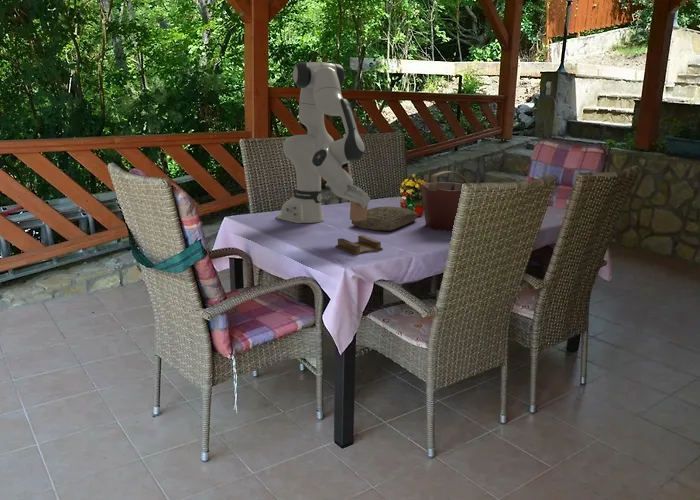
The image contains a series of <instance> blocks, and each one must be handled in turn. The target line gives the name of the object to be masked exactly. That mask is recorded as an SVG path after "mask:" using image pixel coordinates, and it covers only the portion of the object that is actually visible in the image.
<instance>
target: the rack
mask: <svg viewBox="0 0 700 500" xmlns="http://www.w3.org/2000/svg"><path fill="white" fill-rule="evenodd" d="M381 246H382V242H381V241H379V240H376V239H374V238H371V237H368V236H366V235H363V234H359V235H358V236H357V241H356V242H355V241H354V242H352V241H349V240H348V239H345V238H337V244H336V245H335V248H336V249H339V250H341V251H343V252H347V253H348V254H351V255H353V256H354V255H355V256H356V255H361V254H366V253H371V252H377V251H383V247H381Z"/></svg>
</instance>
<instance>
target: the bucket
mask: <svg viewBox="0 0 700 500" xmlns="http://www.w3.org/2000/svg"><path fill="white" fill-rule="evenodd" d="M446 174H453V175H454V176H455V177H458V178H459V179H460V181H461V182H462V183H459V182H449V181H448V182H447V181H438V178H439V177H441V176H443V175H444V176H445V175H446ZM463 183H469V182H468V180H467V178H466V177H465V176H463V175H462V174H460V173H458V172H456V171H450V170H447V171H446V170H445V171H440V172H436V173H433V174H432V175H430V182H427V183H422V184H421V198H422V204H423V205H422V206H423V213H424V220H425V225H426V226H427V227H428V228H429V229H432V230H438V231H443V230H446V231H445V232H452V229H453V225H454V220H455V216H456V213H457V208H458V203H459V198H460V194H461V186H462V184H463Z"/></svg>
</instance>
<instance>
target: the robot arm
mask: <svg viewBox="0 0 700 500" xmlns="http://www.w3.org/2000/svg"><path fill="white" fill-rule="evenodd" d="M345 74H346V73H345V69H344V67H343V65H341V64H339V63H334V62H333V63H329V62H325V61H324V62H323V61H319V62H318V61H315V62H314V61H312V62H311V61H310V62H306V61H302V62H297V63H296V64H295V65H294V68H293V71H292V79H293V83H294V84H295V86H296V87H298V88H300V92H299V93H300V94H299V103H298V105H299V106H298V107H299V108H298V120H299V123H301V124H302V125H304V126H305V127H306V130H307V134H295V135H291V136H289V137H287V138H285V140H284V142H283V145H282V149H283V150H282V151H283V153H284V155H285V157H286V158H287V159H289V160H290V162H291V163H292V165H293V167H294V169H295V175H296V188H295V189H294V190H292V191H291V194H293V197H290V199H288V200H287V201H286V202H284V203H283V205H282V206H281V211H280V213H278V214H277V215H276V216H275V217H276V219H279V220H282V221H286V222H291V223H295V224H304V223H305V224H310V223H311V224H312V223H314V224H315V223H320V222H323V221H324V220H325V219H324V215H323V207H322V200H323V189H322V179H323V180H324V181H325V182H326V183H324V185H325V187H326V188H327V189H329V190H330V191H331V192H332V193H333V194H334V195H336V196H337V197H339V198H341V199H344V200H347V201H349V202H350V203H351V201H353V202H356V203H359V204H360V207H362V208H364V207H365V206H366V205H367V206H368V205H369V202H370V201H371V197H370V196H369V194H368V195H367V194H366V193H367V192H365V191H364V190H363V189H362V188H361V187H358V186H356V185H353V184H354V180H353V178H352V176H351V175H350V174H349V173H348V172H347V171H346V170H345V169H344V168H343V165H345V164H348V163H351V162H352V163H353V162H357V161H360V160H361V159H362V158H363V156H364V154H365V151H366V147H365V143H364V140H363V138H362V136H361V133H360V131H359V127H358V124H357V121H356V117H355V115H354V111H353V108H352V106H351V104H350V102H349V101H348V99H346V98H344V97H343V95H342V90H341V89H342V88H341V87H343V85H344V84H345V77H346V75H345ZM325 115H326V116H332V117H340V118H341V121H342V124H343V125H342V126H343V127H344V130H345V135H344V137H342V138H340V139H337V140H334V138H333V137H332V136H331V135H330V134H329V133H328V131H327V129H326V125H325Z"/></svg>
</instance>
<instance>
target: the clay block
mask: <svg viewBox="0 0 700 500" xmlns="http://www.w3.org/2000/svg"><path fill="white" fill-rule="evenodd" d="M365 193H366V194H367V195H368V196H369V193H368V192H365ZM349 208H350V212H349V220H350V221H352V220H353V221H361V220H367V210H368V204H367V205H366V206H365V207H364V208H362V207H360V204H359V203H356V202H353V201H351V202H350V206H349Z"/></svg>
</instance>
